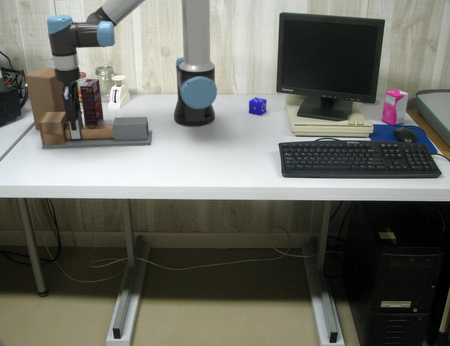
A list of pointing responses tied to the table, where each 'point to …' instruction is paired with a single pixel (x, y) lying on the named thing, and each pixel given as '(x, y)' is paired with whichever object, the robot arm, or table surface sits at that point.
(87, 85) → the supplement box
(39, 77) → the wooden block
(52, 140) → the socket block
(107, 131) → the brown piece
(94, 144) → the base board
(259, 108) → the die
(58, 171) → the table surface
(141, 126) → the sleeve
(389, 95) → the supplement box
